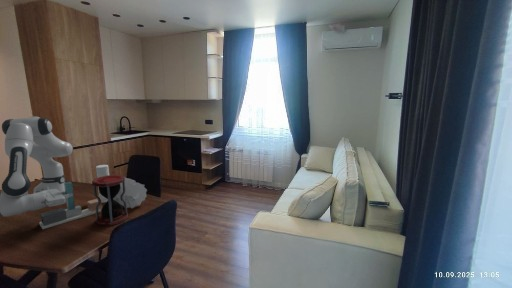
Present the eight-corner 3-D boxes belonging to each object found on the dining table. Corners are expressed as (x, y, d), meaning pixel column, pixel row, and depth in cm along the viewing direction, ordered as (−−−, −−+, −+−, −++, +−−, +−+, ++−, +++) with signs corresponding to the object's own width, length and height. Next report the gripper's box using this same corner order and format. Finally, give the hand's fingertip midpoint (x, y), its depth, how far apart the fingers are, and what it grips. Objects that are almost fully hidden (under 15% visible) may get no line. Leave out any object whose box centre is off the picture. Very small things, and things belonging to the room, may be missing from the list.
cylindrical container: (105, 203, 161) (102, 167, 157) (96, 202, 163) (93, 167, 158) (113, 199, 168) (110, 165, 164) (105, 198, 169) (102, 164, 165)
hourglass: (98, 216, 143) (93, 176, 139) (128, 211, 151) (125, 173, 146) (94, 228, 129) (89, 185, 125) (127, 222, 137) (124, 181, 132)
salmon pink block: (91, 211, 146) (90, 203, 145) (88, 209, 149) (87, 201, 148) (102, 208, 150) (101, 200, 150) (99, 206, 154) (98, 198, 153)
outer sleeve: (44, 225, 129) (42, 216, 128) (42, 222, 132) (40, 213, 131) (66, 219, 137) (65, 210, 136) (64, 216, 140) (63, 207, 139)
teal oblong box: (47, 222, 131) (42, 188, 127) (45, 220, 133) (41, 187, 130) (81, 212, 143) (78, 181, 139) (80, 210, 145) (76, 180, 142)
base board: (42, 229, 128) (42, 227, 128) (39, 224, 133) (39, 222, 132) (104, 210, 151) (104, 208, 150) (100, 206, 156) (100, 205, 155)
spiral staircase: (126, 203, 172) (144, 211, 157) (100, 200, 158) (117, 208, 143) (134, 178, 176) (153, 184, 161) (110, 173, 162) (128, 179, 147)
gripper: (43, 200, 121) (75, 192, 132) (35, 190, 134) (66, 184, 145) (44, 211, 123) (77, 203, 133) (37, 200, 135) (67, 193, 146)
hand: (71, 193), depth 139 cm, fingers closed on teal oblong box, 4 cm apart
